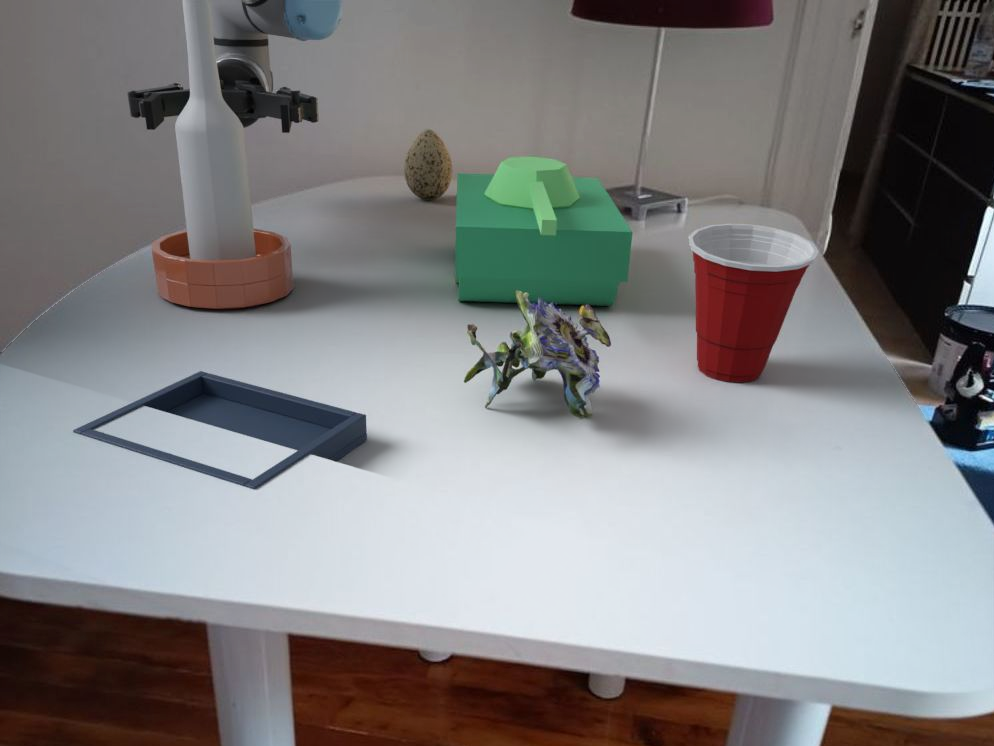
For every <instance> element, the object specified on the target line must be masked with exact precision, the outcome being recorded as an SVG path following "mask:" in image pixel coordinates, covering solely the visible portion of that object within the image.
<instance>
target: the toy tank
mask: <svg viewBox="0 0 994 746" xmlns="http://www.w3.org/2000/svg"><path fill="white" fill-rule="evenodd" d="M455 210H456V212H455V252H454V253H455V259H454V260H455V264H454V277H455V278H454V279H455V284H458V292H457V301H458V302H479V303H480V302H482V303H484V302H485V303H512V304H513V303H514V304H518V303H517V300H516V296H515V292H516V291H521V292H522V293H523V294H524V293H528V294H529V295H528V298H527V299H528V300H529V301H530V303H531V304H533V303H536V304H538V298H542V301H543V303H544V302H546V303H547V304H549V305H550V303H551V302H552V301H553V304H554V305H556V304H557V305H570V306H571V305H572V306H585V305H587V304H588V305H590V306H599V307H601V306H603V307H612V306H613V305H614V304H615V302H616V299H617V294H618V292H619V285H620V283H628V277H629V269H630V261H631V260H630V259H631V250H632V241H633V233H634V232H633V230H632V229H631V227H630V225H629V224H628V222H627V221H626V219H625V218H624V216H623V215H622V213H621V212H620V210H619V209H618V207H617V205H616V204H615V202H614V201H613V200H612V197H611V196H610V194H609V193H608V192H607V189H606V188H605V187H604V185H603V183H602V182H601V180H600V179H599V178H598V177H580V176H579V177H577V176H572V175H571V172H570V170H569V167H568V165H567V163H564V162H562V161H560V160H558V159H554V158H549V157H548V158H547V157H541V156H540V157H539V156H538V157H537V156H532V155H531V156H515V157H514V156H513V157H512V156H511V157H508V158H506V159H504V160H503V161H501V162H500V164H499V165H498V167H497V169H496V171H495V173H494V174H491V173H490V174H489V173H488V174H487V173H463V172H461V173H460V172H458V173H457V174H456V209H455ZM551 304H552V303H551Z"/></svg>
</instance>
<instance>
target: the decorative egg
mask: <svg viewBox="0 0 994 746" xmlns="http://www.w3.org/2000/svg"><path fill="white" fill-rule="evenodd" d="M403 168H404V169H403V172H404V173H403V175H404V179H405V181H406V185H407V187H408V188H409V190H410V191H411V192H412V193H413V194H414V195H415V197H418V198H419V199H421V200H423V201H433V200H437V199H439V198H440V197H442V196H443V195H444V194H445V193H446V192H447V190H448V189H449V187H450V185H451V182H452V179H453V164H452V159H451V156H450V153H449V150H448V147H447V146H446V144H445V143H444V141H443V140H442V138H441V137H440V136H439V135H438V133H436V132H435V130H432V129H430V128H429V129H425V130H423V131H422V132H420V133H419V134H418V135H417V136H416V138H415V139H414V140H413V141H412V143H411V144H410V147H409V149H408V150H407V152H406V156H405V159H404V165H403Z"/></svg>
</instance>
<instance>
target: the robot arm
mask: <svg viewBox="0 0 994 746" xmlns="http://www.w3.org/2000/svg"><path fill="white" fill-rule="evenodd" d="M210 9H211V19H212V28H213V37H214V46H215V55H216V61H217V68H218V74H219V80H220V87H221V93H222V97H223V99H224V101H225V102H226V104H227V105H228V106H229V107H230V109H231V110H232V111H233V112H234V113H235V114H236V116H237V117H238V118H239V120H240V122H241V123H242V125H243V129H245V128H249V127H250V126H252V125H254V124H255V123H257V121H258V120H259V119H267V118H268V117H269V118H273V119H278V120H280V121H281V133H282V134H290V132H291V128H292V124H293V123H295V124H300V123H302V122H303V121H306V122H310V123H313V124H315V123H318V122H319V103H318V101H319V100H318V99H319V98H318V97H315V96H314V95H308V94H306V93H302V92H301V90H300V89H299V90H292V89H291V88H290V87H287V86H281V87H280V88H276V89H275V92H274V75H273V71H272V70H271V60H270V49H269V35H271V36H276V37H283V38H289V39H296V40H298V41H301V42H306V41H321V40H322V41H323V40H325V39H328V38H330V37H331V36H333V34H334V33H335V32H336V31H337V29H338V28H339V25H340V24H341V21H342V18H343V13H344V0H210ZM189 98H190V87H189V88H186V89H184V86H183V85H182V84H180V83H178V82H173V83H171V84H168V85H163V86H157V87H152V88H144V89H137V90H129V91H127V99H128V107H129V113H130V117H132V118H135V119H140V118H145V125H146V130H150V131H155V130H156V129H157V128H158V127H159V126H161V124H162V123H163V122H164V121H165V118H169V117H170V118H171V117H178V116H179V115H180V113H181V112H182V110H183V109H184V107H185V106H186V104H187V102H188V100H189Z"/></svg>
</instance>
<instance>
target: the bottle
mask: <svg viewBox="0 0 994 746" xmlns="http://www.w3.org/2000/svg"><path fill="white" fill-rule="evenodd" d="M181 2H182V11H183V21H184V28H185V29H184V30H185V31H184V32H185V38H186V47H187V61H188V62H187V63H188V64H187V65H188V80H189V81H188V83H189V88H190V98H189V100H188V102H187V104H186V106H185V107H184V109H183V110H182V112H181V113H180V115H179V116H177V118H176V121H175V123H174V128H175V130H174V131H175V139H176V147H177V156H178V165H179V173H180V181H181V191H182V199H183V207H184V216H185V218H184V219H185V226H186V230H187V235H188V244H189V252H190V259H198V260H235V259H245V258H251V257H256V251H255V240H254V230H253V229H254V222H253V221H254V219H253V211H252V202H251V191H250V189H251V188H250V181H249V180H250V179H249V171H248V169H249V168H248V159H247V150H246V140H245V128H243V125H242V123H241V122H240V120H239V118H238V117H237V116H236V114H235V113H234V112H233V111H232V110H231V109H230V107H229V106H228V105H227V104H226V102H225V101H224V99H223V97H222V93H221V87H220V80H219V74H218V68H217V61H216V55H215V46H214V37H213V28H212V19H211V9H210V0H181Z"/></svg>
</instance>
